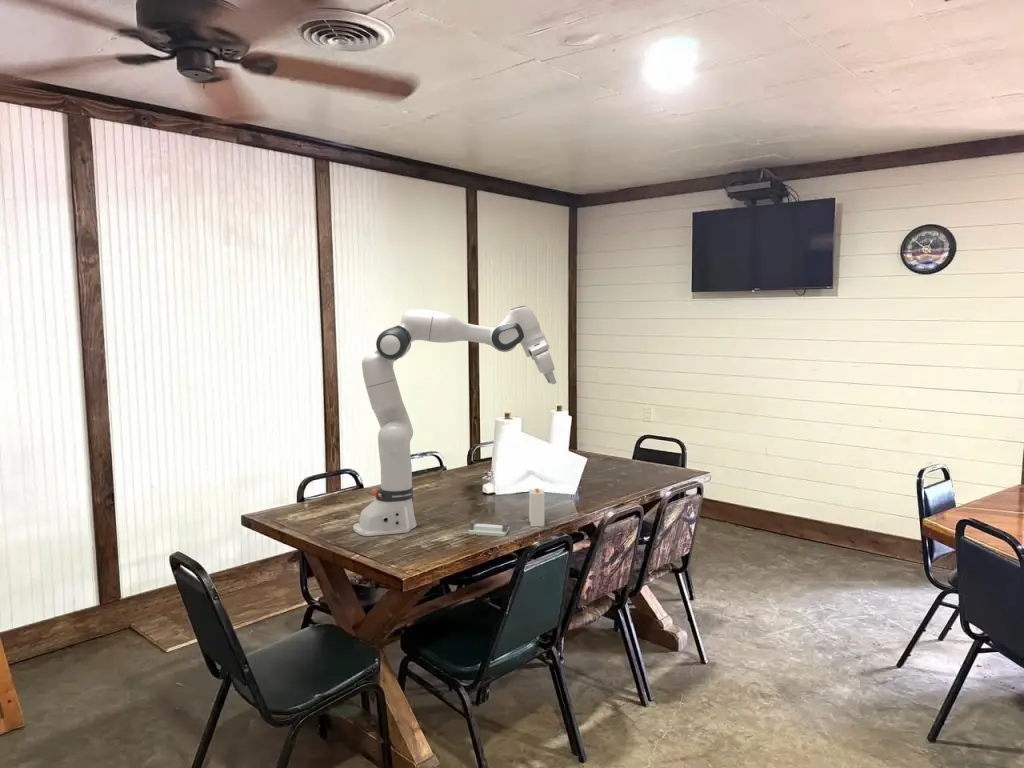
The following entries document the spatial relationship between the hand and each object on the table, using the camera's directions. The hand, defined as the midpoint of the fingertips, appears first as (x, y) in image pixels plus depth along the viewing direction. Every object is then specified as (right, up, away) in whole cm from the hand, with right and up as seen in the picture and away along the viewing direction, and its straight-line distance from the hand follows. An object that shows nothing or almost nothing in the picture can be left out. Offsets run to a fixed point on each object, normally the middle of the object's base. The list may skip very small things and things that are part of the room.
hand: (552, 383), depth 249 cm
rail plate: (-23, -52, -3) cm, 57 cm away
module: (-5, -52, +7) cm, 52 cm away
